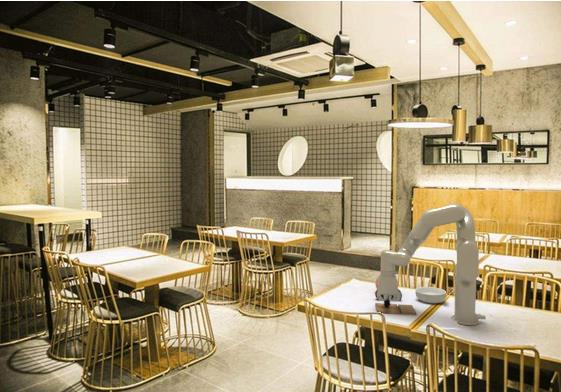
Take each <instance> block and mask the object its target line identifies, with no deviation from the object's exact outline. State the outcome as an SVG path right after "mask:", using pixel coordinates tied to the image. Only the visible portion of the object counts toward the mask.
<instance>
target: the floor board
mask: <svg viewBox="0 0 561 392" xmlns="http://www.w3.org/2000/svg"><path fill="white" fill-rule="evenodd" d="M397 306H398V308H399V311H400V314H399V315H405V316H407V315H408V316H417V311H416V309H415V308H414V306H413V305H412V304H400V303H399V304H397Z"/></svg>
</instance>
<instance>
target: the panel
mask: <svg viewBox="0 0 561 392" xmlns="http://www.w3.org/2000/svg"><path fill="white" fill-rule="evenodd" d="M374 306H375V309H376V312H382V313H381V314H391V315H401V314H400V311H399V308H398V304H397V303H390V306H389V308H386V307H385V306H384V302H383V303H381V302H375V304H374Z"/></svg>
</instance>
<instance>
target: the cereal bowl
mask: <svg viewBox="0 0 561 392" xmlns="http://www.w3.org/2000/svg"><path fill="white" fill-rule="evenodd" d="M414 291H415V297H416V298H417V299H418V300H419V301H420V302H423V303H427V304H439V303H443V302H444V301H445V299H446V297H447V291H446V290H444V289H442V288H440V287H439V288H438V287H434V286H420V287H417V288H415V290H414Z"/></svg>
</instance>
